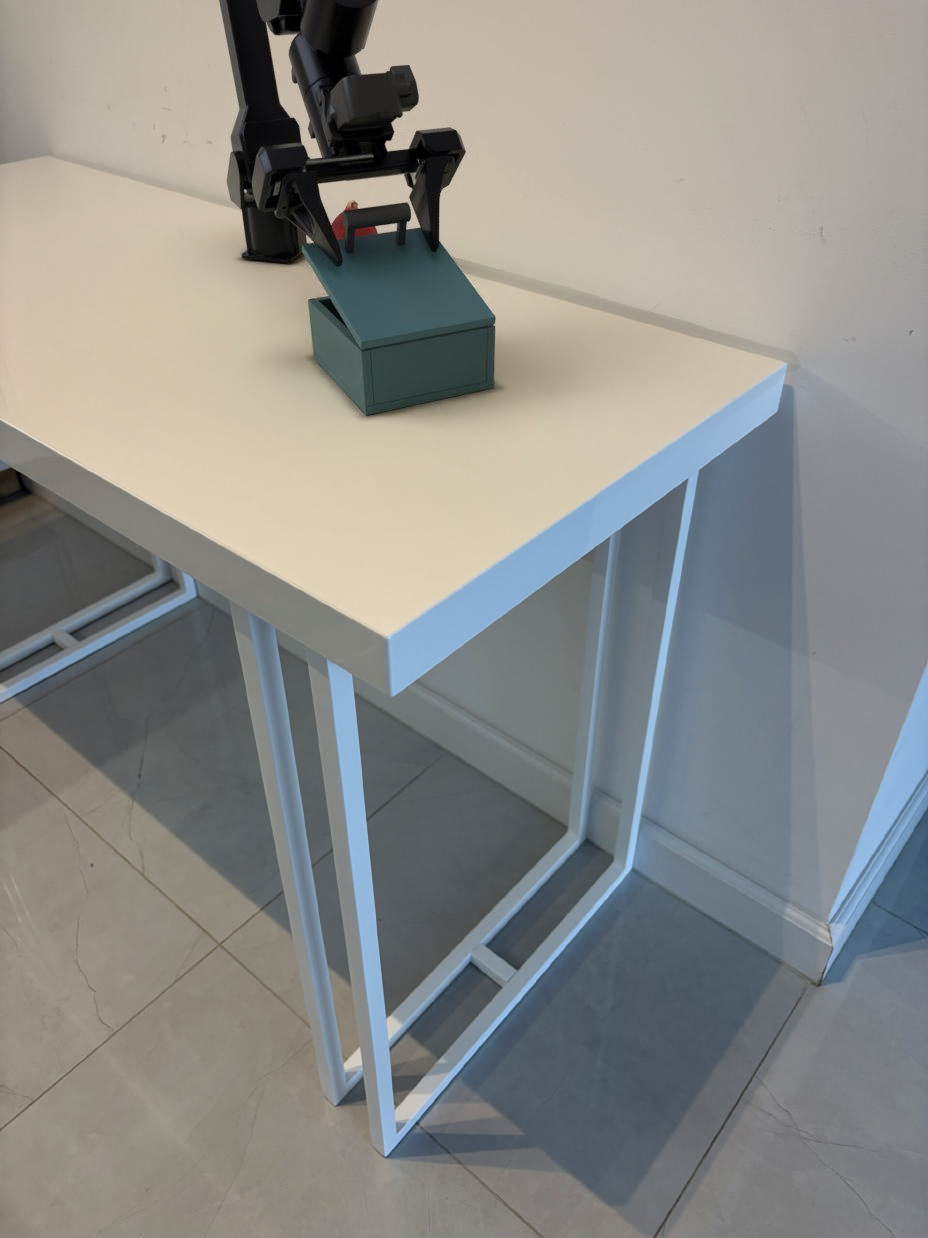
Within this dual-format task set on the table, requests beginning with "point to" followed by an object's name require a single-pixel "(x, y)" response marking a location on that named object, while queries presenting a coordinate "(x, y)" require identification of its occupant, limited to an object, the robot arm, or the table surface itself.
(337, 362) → the cool box
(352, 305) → the cool box lid
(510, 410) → the table surface
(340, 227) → the onion
